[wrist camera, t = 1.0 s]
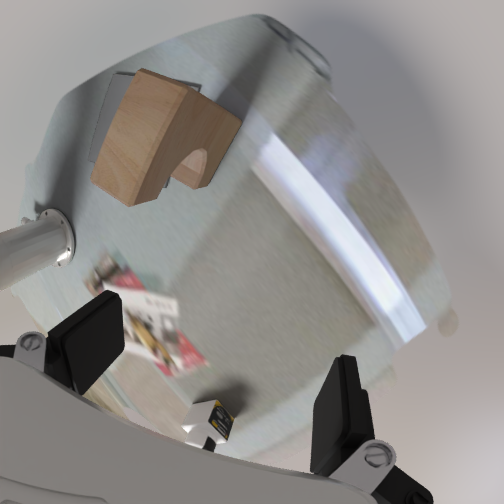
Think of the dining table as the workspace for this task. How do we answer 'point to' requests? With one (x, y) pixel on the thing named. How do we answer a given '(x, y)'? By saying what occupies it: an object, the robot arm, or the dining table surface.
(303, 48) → the dining table surface
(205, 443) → the medicine bottle
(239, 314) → the dining table surface
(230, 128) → the decorative block
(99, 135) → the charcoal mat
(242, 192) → the dining table surface
